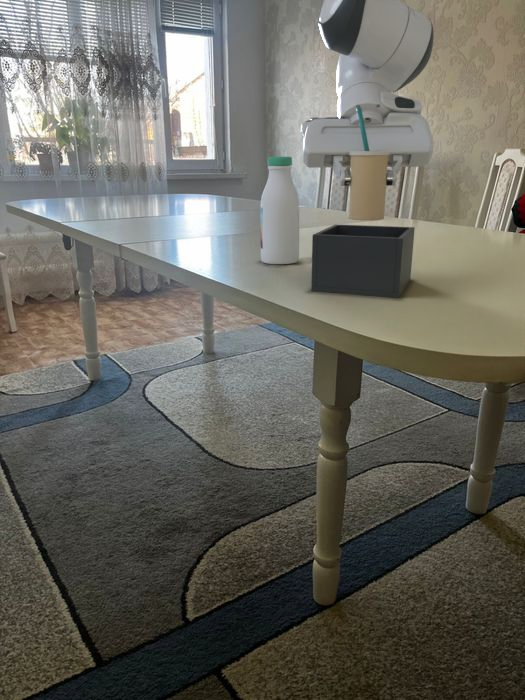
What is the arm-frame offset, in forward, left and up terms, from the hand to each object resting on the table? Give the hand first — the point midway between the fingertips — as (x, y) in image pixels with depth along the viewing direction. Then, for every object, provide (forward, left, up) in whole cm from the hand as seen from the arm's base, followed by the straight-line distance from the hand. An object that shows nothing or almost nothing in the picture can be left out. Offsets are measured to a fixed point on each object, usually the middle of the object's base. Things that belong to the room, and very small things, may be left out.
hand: (368, 183), depth 83 cm
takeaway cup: (0, -1, -5) cm, 5 cm away
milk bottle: (+20, -16, -16) cm, 30 cm away
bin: (0, -1, -16) cm, 16 cm away
